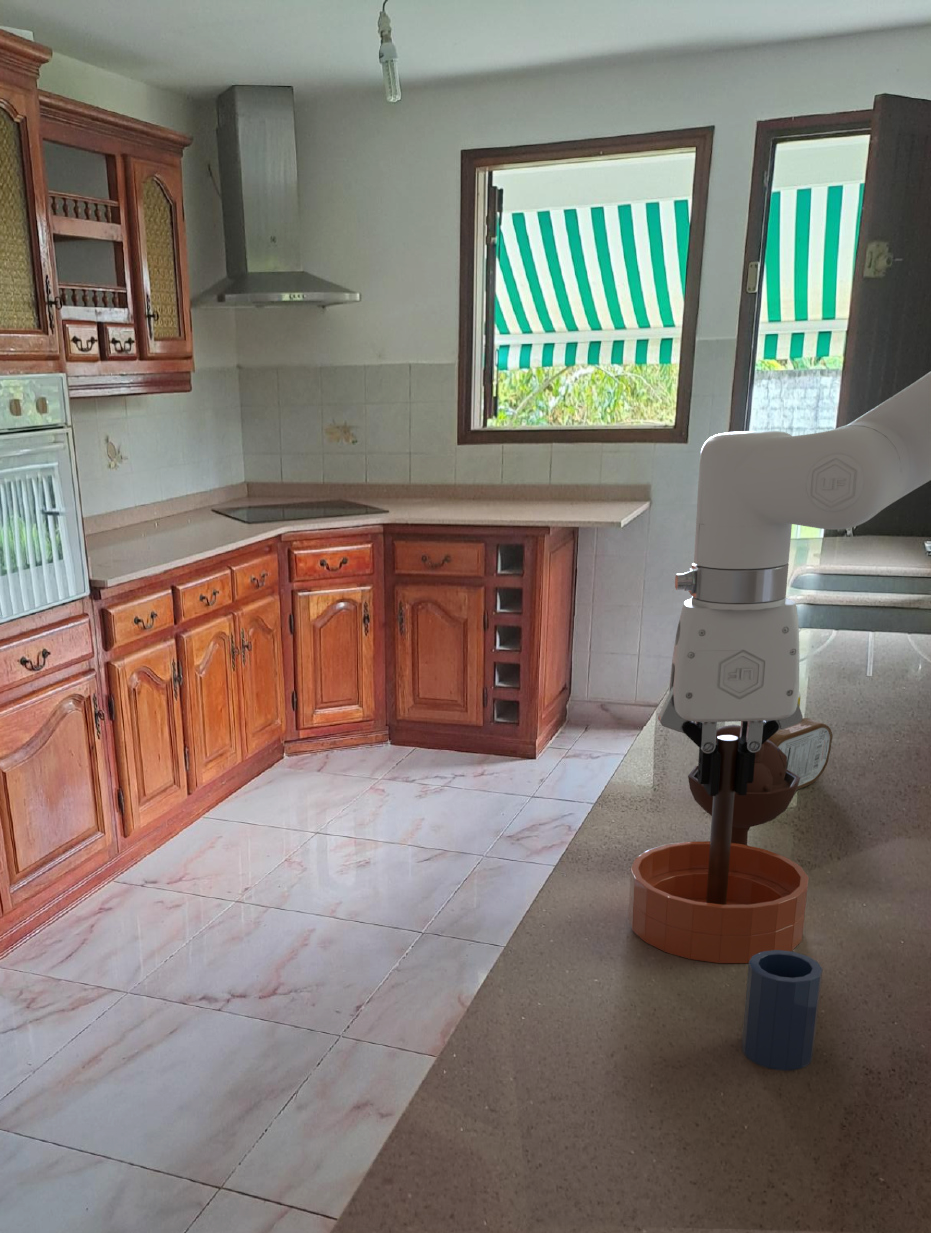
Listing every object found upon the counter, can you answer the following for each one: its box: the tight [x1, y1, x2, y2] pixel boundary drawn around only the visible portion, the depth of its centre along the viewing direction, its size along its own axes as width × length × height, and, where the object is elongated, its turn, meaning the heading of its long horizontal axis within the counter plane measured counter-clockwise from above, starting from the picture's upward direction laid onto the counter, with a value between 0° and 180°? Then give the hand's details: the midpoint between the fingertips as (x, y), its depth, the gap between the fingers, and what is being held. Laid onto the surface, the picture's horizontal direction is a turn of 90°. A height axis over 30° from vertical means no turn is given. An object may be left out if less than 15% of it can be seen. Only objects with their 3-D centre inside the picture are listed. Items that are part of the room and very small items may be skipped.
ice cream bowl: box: [687, 724, 801, 846], centre depth 122 cm, size 11×11×15 cm
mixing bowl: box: [628, 840, 809, 964], centre depth 108 cm, size 15×15×6 cm
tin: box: [768, 717, 834, 791], centre depth 142 cm, size 15×3×8 cm, turn 126°
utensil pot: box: [741, 950, 824, 1071], centre depth 87 cm, size 5×5×8 cm
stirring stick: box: [706, 735, 739, 905], centre depth 106 cm, size 2×2×18 cm
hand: (724, 789), depth 104 cm, fingers closed on stirring stick, 1 cm apart
